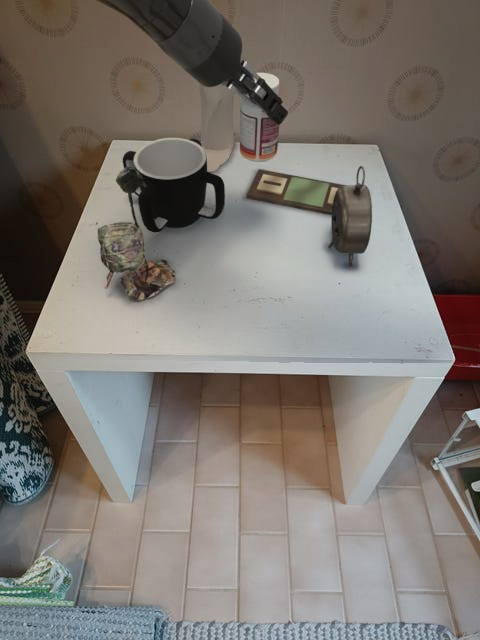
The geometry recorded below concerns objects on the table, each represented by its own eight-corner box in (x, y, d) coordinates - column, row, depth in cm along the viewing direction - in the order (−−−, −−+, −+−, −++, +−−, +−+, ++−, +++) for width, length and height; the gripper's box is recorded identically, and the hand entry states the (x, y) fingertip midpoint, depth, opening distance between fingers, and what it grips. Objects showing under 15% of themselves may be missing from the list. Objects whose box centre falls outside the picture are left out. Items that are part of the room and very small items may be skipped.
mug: (229, 235, 78) (228, 178, 68) (140, 250, 75) (126, 193, 66) (210, 182, 87) (207, 125, 77) (130, 194, 85) (117, 136, 75)
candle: (189, 169, 90) (179, 67, 74) (206, 135, 98) (201, 35, 82) (222, 174, 89) (219, 71, 73) (237, 139, 97) (237, 39, 81)
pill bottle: (278, 144, 72) (285, 72, 63) (275, 165, 68) (281, 92, 59) (242, 140, 72) (243, 68, 63) (236, 161, 68) (237, 88, 59)
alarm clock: (361, 271, 73) (388, 190, 60) (329, 271, 73) (349, 190, 60) (351, 228, 79) (374, 146, 66) (322, 227, 79) (339, 146, 66)
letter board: (364, 192, 86) (366, 186, 85) (358, 220, 80) (360, 215, 79) (258, 172, 89) (258, 166, 88) (246, 198, 84) (246, 192, 83)
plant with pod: (104, 272, 72) (67, 166, 56) (171, 259, 74) (153, 153, 58) (109, 309, 67) (70, 205, 51) (181, 294, 69) (164, 189, 53)
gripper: (248, 26, 47) (315, 106, 60) (185, -11, 54) (257, 68, 68) (208, 88, 49) (282, 152, 63) (153, 45, 57) (229, 110, 70)
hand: (269, 108), depth 65 cm, fingers closed on pill bottle, 6 cm apart
